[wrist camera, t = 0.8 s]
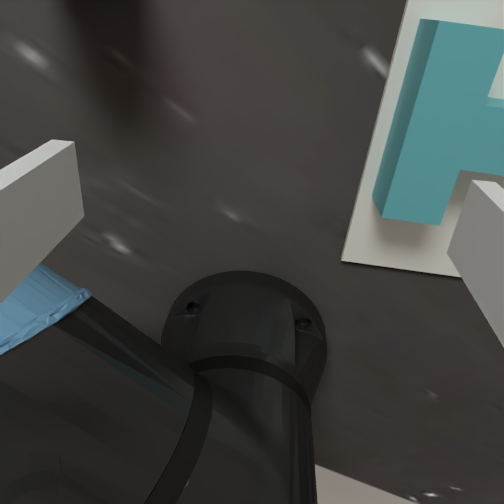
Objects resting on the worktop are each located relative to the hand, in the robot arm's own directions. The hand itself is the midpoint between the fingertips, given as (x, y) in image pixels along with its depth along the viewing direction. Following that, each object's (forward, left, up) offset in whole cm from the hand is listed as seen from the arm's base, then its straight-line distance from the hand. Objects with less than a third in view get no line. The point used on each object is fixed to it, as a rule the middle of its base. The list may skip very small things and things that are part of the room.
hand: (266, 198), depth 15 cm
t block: (0, -14, -18) cm, 23 cm away
